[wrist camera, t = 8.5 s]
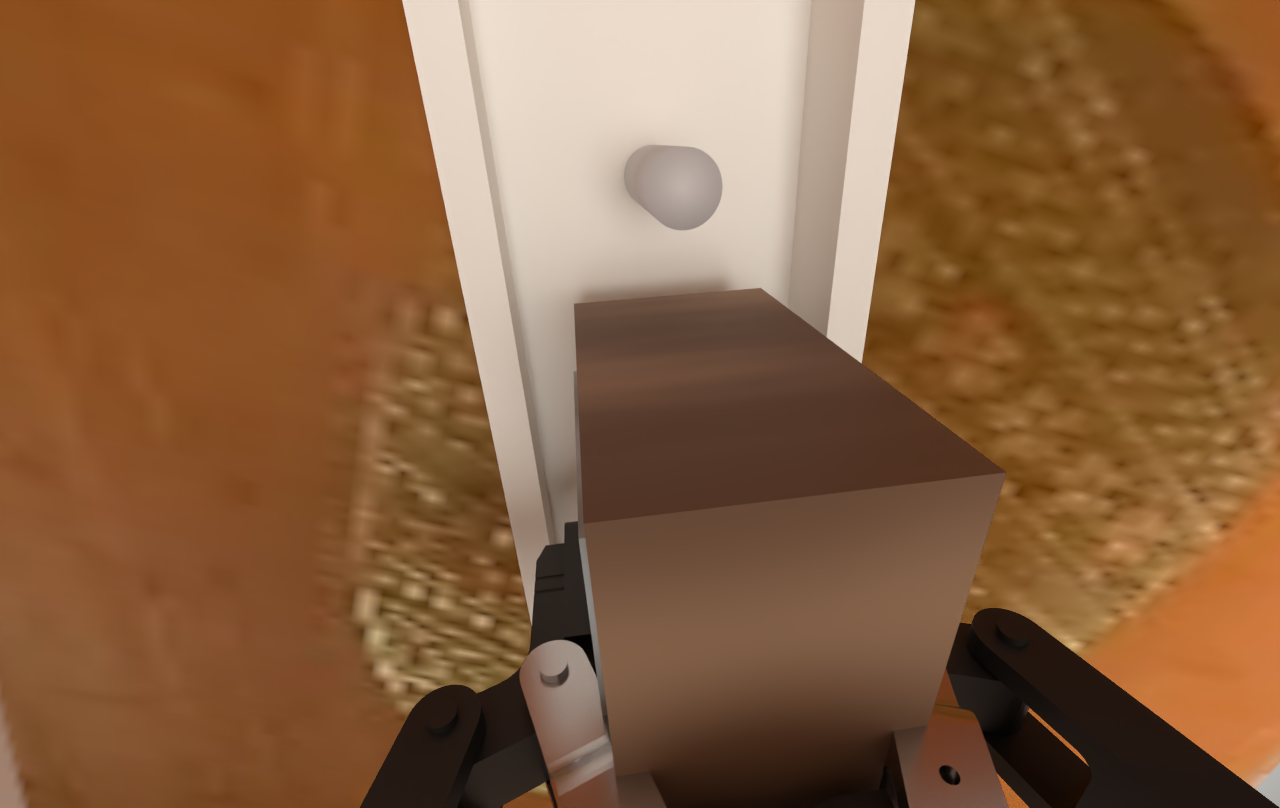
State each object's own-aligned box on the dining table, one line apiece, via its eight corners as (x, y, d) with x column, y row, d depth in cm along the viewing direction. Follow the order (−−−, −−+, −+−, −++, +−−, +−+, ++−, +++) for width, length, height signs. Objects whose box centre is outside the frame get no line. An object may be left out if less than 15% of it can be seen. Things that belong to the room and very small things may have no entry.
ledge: (767, 685, 25) (815, 817, 20) (565, 716, 24) (564, 862, 19) (834, -97, 12) (1011, -254, 7) (415, -89, 11) (303, -259, 7)
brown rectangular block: (747, 633, 18) (863, 950, 11) (608, 653, 18) (635, 996, 11) (766, 287, 13) (1019, 471, 6) (567, 304, 12) (568, 525, 5)
